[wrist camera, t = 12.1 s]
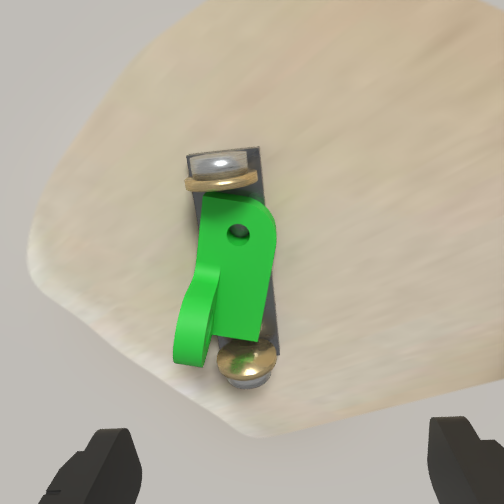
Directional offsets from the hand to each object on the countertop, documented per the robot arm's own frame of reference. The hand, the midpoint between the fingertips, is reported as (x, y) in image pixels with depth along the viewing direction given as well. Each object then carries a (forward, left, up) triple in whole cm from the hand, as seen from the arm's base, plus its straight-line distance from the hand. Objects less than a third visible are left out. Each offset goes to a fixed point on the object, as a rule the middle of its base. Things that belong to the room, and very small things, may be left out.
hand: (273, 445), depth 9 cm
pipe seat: (+3, +4, -22) cm, 22 cm away
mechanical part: (+4, +3, -21) cm, 21 cm away
